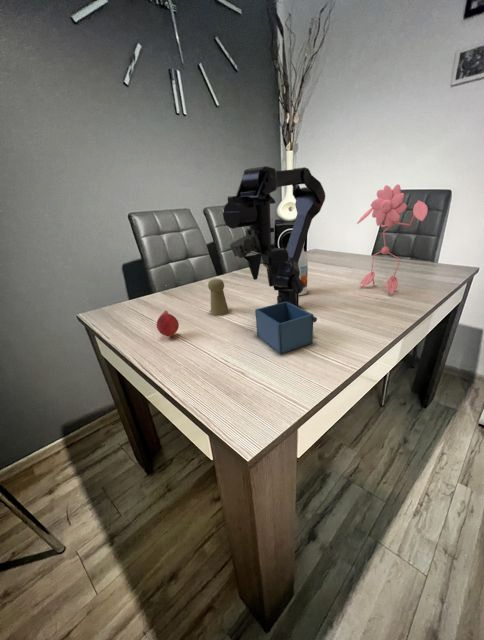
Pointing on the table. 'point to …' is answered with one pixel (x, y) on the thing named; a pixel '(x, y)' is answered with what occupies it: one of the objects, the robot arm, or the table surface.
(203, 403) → the table surface
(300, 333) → the blue drawer
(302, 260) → the milk bottle
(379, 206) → the figurine
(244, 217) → the robot arm
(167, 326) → the onion
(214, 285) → the tan chess pawn
